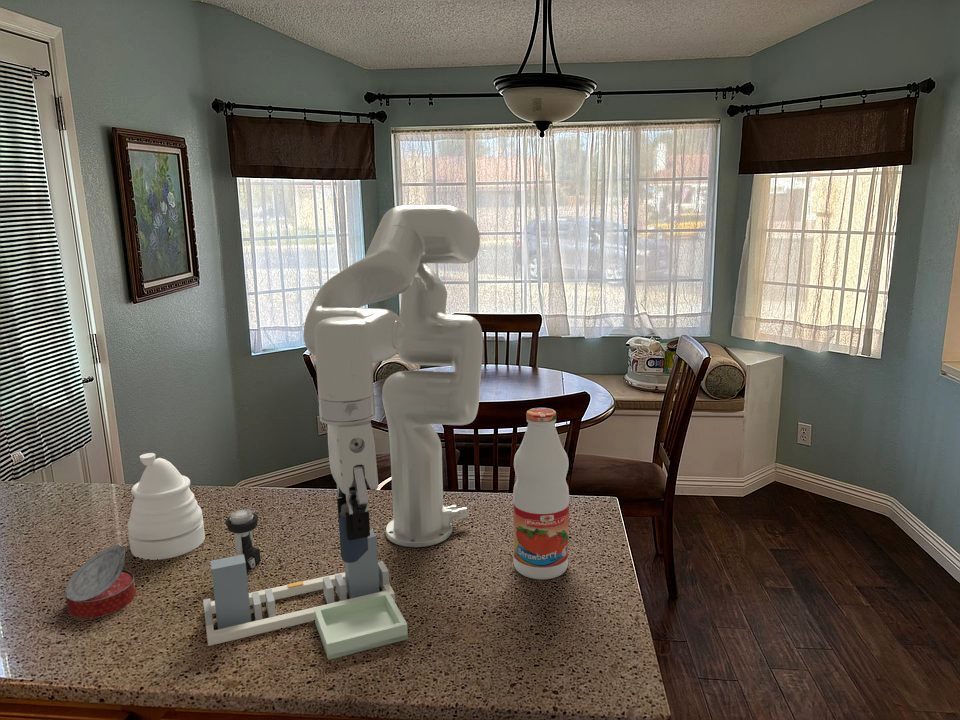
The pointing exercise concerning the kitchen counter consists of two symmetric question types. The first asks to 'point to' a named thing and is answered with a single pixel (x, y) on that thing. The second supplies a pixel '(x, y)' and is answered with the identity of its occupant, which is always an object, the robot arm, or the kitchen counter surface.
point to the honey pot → (163, 513)
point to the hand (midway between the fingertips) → (354, 528)
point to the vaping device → (350, 548)
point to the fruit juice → (541, 499)
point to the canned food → (100, 585)
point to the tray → (360, 625)
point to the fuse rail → (283, 595)
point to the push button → (244, 535)
